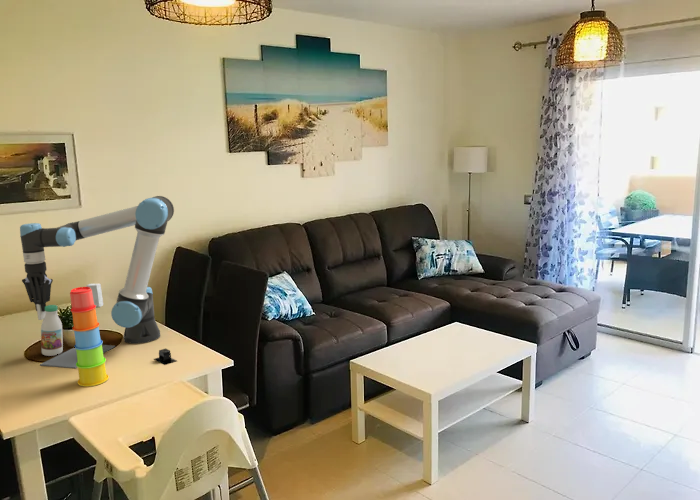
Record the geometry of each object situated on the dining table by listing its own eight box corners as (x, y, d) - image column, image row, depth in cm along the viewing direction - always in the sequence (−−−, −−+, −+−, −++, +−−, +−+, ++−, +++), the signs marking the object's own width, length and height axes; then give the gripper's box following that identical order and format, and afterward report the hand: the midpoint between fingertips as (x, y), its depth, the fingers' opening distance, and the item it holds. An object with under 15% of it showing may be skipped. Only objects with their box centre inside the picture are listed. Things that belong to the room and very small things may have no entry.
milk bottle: (43, 349, 233) (41, 303, 229) (63, 348, 236) (62, 303, 232) (40, 357, 226) (38, 309, 222) (61, 355, 229) (60, 309, 225)
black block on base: (181, 362, 219) (180, 351, 218) (164, 368, 214) (163, 356, 213) (166, 355, 228) (165, 344, 227) (148, 360, 223) (147, 349, 222)
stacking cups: (114, 380, 203) (104, 286, 196) (85, 389, 195) (74, 292, 189) (101, 373, 209) (91, 282, 203) (72, 381, 202) (61, 288, 196)
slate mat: (115, 346, 237) (115, 345, 237) (75, 368, 214) (75, 367, 214) (82, 344, 241) (82, 343, 241) (40, 365, 218) (39, 364, 218)
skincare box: (103, 305, 303) (101, 283, 301) (99, 307, 298) (97, 285, 296) (92, 305, 303) (90, 283, 301) (88, 307, 299) (85, 285, 297)
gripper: (13, 263, 222) (21, 320, 227) (41, 264, 219) (48, 322, 224) (28, 259, 230) (36, 315, 234) (55, 260, 227) (62, 316, 231)
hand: (42, 318), depth 229 cm, fingers closed
